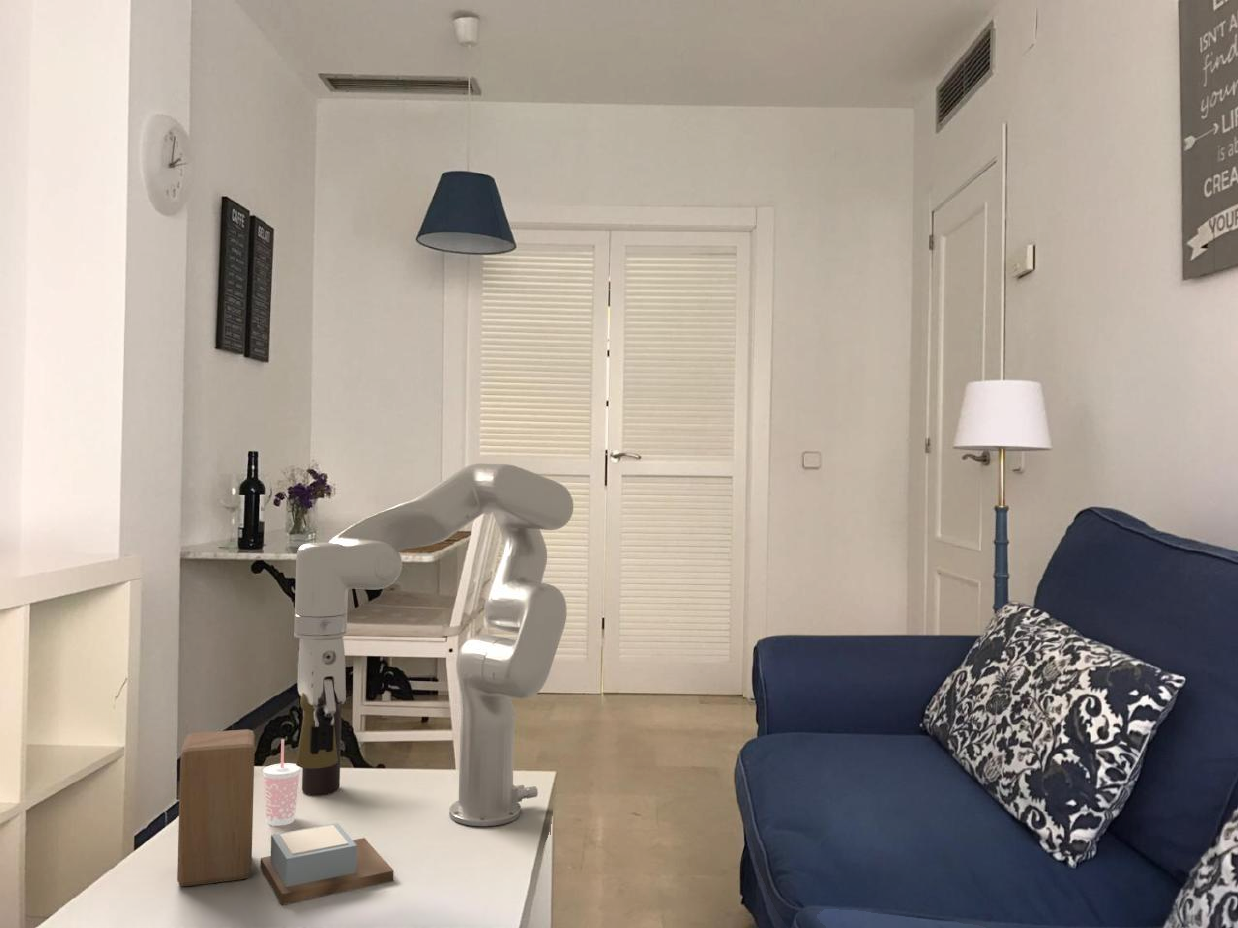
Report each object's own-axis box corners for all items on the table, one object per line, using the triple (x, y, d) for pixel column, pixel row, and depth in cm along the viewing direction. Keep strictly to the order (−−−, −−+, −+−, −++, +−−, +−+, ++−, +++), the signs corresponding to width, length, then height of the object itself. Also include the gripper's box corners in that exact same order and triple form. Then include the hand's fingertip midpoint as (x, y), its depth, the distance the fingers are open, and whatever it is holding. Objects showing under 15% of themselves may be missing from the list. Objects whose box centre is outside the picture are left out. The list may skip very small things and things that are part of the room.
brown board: (364, 847, 152) (364, 837, 152) (393, 880, 140) (393, 870, 140) (260, 867, 143) (260, 857, 143) (281, 904, 132) (282, 894, 132)
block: (182, 862, 145) (185, 731, 145) (251, 854, 148) (255, 726, 148) (176, 889, 135) (179, 750, 136) (251, 880, 139) (254, 744, 139)
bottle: (333, 796, 174) (336, 688, 175) (296, 796, 174) (299, 687, 174) (343, 784, 181) (346, 680, 181) (308, 783, 181) (311, 679, 181)
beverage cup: (256, 819, 163) (258, 738, 163) (290, 811, 167) (293, 732, 167) (269, 830, 158) (272, 746, 158) (305, 821, 162) (307, 740, 162)
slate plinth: (337, 848, 148) (337, 821, 148) (356, 872, 139) (356, 843, 139) (270, 861, 142) (271, 833, 142) (286, 886, 134) (286, 857, 134)
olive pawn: (325, 769, 137) (327, 694, 137) (287, 766, 139) (289, 691, 139) (345, 757, 143) (347, 685, 143) (309, 754, 145) (311, 682, 145)
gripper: (362, 632, 136) (359, 759, 136) (330, 616, 150) (327, 731, 150) (309, 636, 132) (306, 767, 132) (281, 619, 146) (278, 737, 146)
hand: (317, 746), depth 141 cm, fingers closed on olive pawn, 3 cm apart
